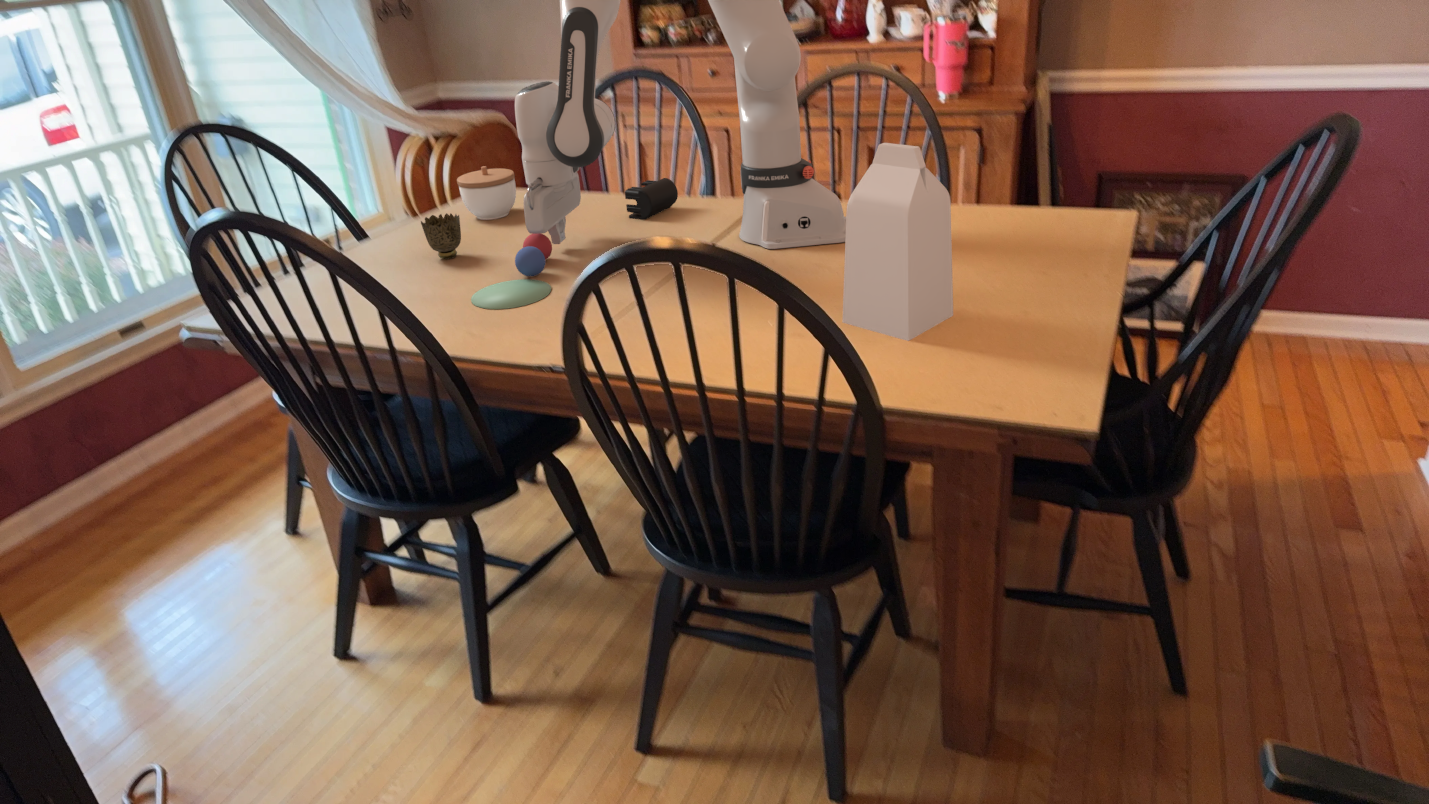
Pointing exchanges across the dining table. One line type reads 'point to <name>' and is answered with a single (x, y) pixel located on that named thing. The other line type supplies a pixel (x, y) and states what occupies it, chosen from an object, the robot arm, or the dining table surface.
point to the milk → (898, 247)
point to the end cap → (651, 198)
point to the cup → (443, 234)
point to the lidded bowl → (488, 192)
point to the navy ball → (530, 261)
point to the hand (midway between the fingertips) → (559, 241)
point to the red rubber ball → (539, 243)
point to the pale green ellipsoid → (511, 294)
